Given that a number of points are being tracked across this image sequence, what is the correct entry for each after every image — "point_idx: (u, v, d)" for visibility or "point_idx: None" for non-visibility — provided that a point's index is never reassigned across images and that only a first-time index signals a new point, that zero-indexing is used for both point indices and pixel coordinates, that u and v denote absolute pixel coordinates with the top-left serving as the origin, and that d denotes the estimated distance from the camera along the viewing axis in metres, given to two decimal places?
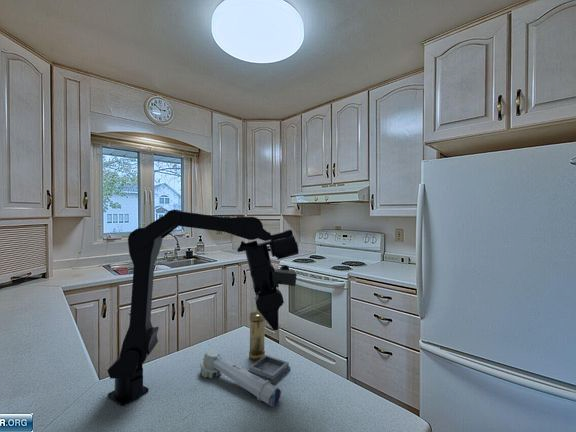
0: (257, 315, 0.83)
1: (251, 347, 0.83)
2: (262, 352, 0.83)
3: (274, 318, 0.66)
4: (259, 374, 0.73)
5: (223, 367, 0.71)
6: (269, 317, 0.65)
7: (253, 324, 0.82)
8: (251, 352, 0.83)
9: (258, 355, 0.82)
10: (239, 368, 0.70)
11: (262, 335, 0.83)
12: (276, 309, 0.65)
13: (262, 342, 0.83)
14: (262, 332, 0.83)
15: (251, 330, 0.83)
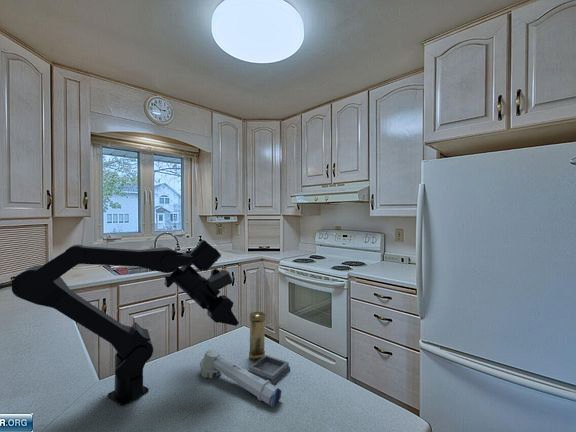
0: (257, 315, 0.83)
1: (251, 347, 0.83)
2: (262, 352, 0.83)
3: (231, 317, 0.74)
4: (259, 374, 0.73)
5: (224, 367, 0.71)
6: (227, 320, 0.73)
7: (253, 324, 0.82)
8: (251, 352, 0.83)
9: (258, 355, 0.82)
10: (239, 368, 0.70)
11: (262, 335, 0.83)
12: (229, 310, 0.73)
13: (262, 342, 0.83)
14: (262, 332, 0.83)
15: (251, 330, 0.83)
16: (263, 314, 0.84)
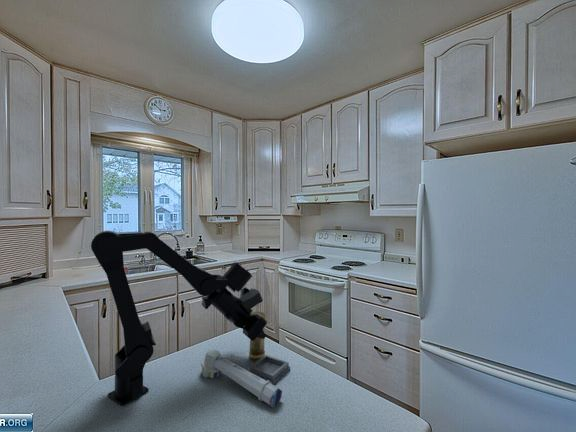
0: None
1: (251, 347, 0.83)
2: (262, 352, 0.83)
3: (260, 331, 0.81)
4: (259, 374, 0.73)
5: (224, 367, 0.71)
6: None
7: None
8: (251, 352, 0.83)
9: (258, 355, 0.82)
10: (240, 368, 0.70)
11: None
12: None
13: (262, 342, 0.83)
14: None
15: None
16: (263, 314, 0.84)
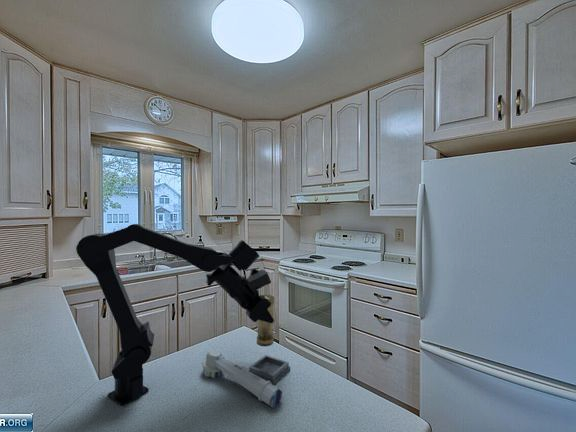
0: None
1: (258, 331, 0.78)
2: (270, 337, 0.78)
3: (267, 315, 0.76)
4: (259, 374, 0.73)
5: (225, 366, 0.71)
6: (263, 317, 0.75)
7: None
8: (258, 336, 0.78)
9: (265, 340, 0.77)
10: (241, 368, 0.70)
11: None
12: None
13: (270, 327, 0.78)
14: None
15: None
16: (272, 297, 0.79)
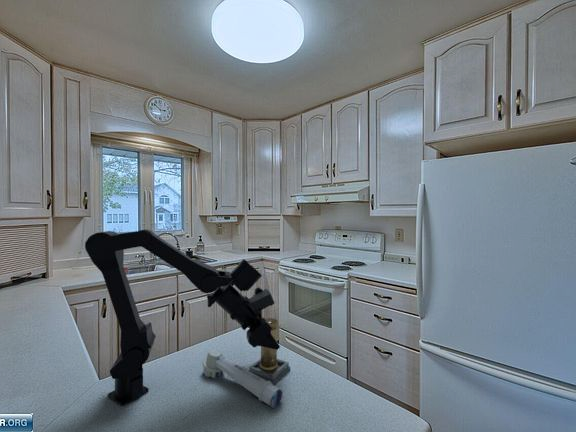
0: None
1: (261, 357, 0.75)
2: (273, 364, 0.74)
3: (271, 341, 0.71)
4: (259, 374, 0.73)
5: (226, 367, 0.71)
6: (267, 343, 0.70)
7: None
8: (261, 363, 0.75)
9: (268, 367, 0.74)
10: (241, 368, 0.70)
11: None
12: (269, 334, 0.70)
13: (273, 353, 0.74)
14: None
15: None
16: (275, 321, 0.76)
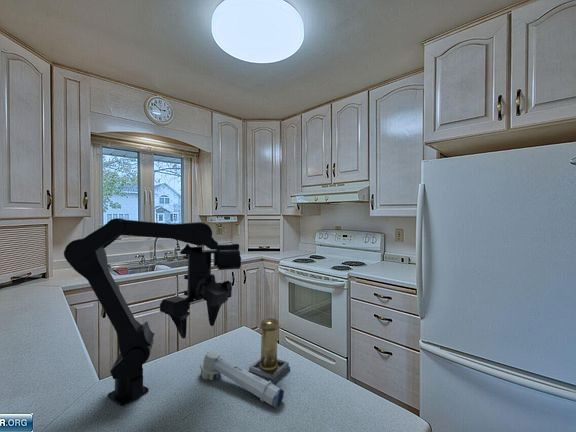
0: (269, 323, 0.75)
1: (261, 357, 0.75)
2: (273, 365, 0.74)
3: (180, 326, 0.66)
4: (259, 374, 0.73)
5: (225, 368, 0.70)
6: (177, 323, 0.67)
7: (263, 332, 0.74)
8: (261, 363, 0.75)
9: (268, 368, 0.74)
10: (241, 369, 0.69)
11: (273, 346, 0.74)
12: (180, 319, 0.65)
13: (273, 353, 0.74)
14: (273, 342, 0.74)
15: (262, 338, 0.75)
16: (275, 322, 0.75)
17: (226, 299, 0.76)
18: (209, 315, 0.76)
